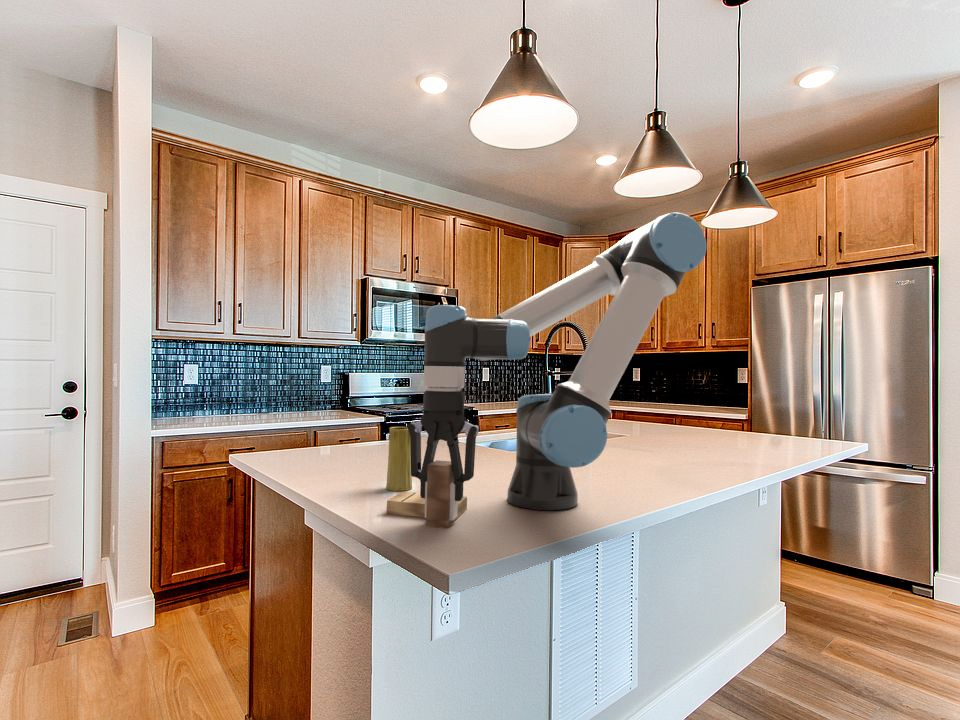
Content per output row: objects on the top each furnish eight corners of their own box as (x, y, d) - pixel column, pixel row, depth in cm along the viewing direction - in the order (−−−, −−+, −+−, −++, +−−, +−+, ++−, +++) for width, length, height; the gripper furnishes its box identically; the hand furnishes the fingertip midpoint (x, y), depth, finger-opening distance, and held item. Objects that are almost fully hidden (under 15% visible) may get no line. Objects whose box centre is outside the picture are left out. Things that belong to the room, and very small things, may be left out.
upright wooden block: (462, 513, 103) (463, 457, 104) (447, 528, 94) (448, 466, 94) (442, 511, 104) (444, 456, 104) (426, 526, 94) (427, 464, 95)
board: (466, 509, 107) (467, 496, 107) (455, 519, 99) (456, 506, 99) (402, 503, 110) (402, 491, 110) (386, 513, 102) (386, 500, 102)
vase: (405, 492, 120) (407, 429, 120) (381, 490, 122) (383, 428, 122) (416, 486, 126) (417, 427, 126) (392, 484, 128) (394, 426, 128)
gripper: (493, 390, 99) (490, 515, 98) (408, 387, 103) (405, 508, 102) (484, 391, 91) (481, 527, 91) (392, 388, 95) (389, 518, 95)
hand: (441, 516), depth 96 cm, fingers closed on upright wooden block, 4 cm apart
